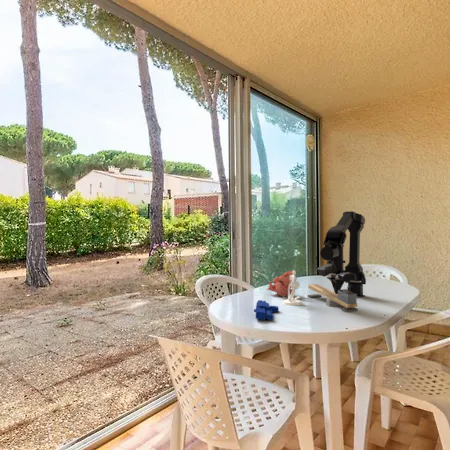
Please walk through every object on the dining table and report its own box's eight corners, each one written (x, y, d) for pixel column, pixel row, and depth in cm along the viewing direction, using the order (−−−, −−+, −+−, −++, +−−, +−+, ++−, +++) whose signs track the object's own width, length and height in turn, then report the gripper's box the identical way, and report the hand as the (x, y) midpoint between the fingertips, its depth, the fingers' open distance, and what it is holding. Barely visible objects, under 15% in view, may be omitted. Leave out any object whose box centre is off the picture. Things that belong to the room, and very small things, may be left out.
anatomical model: (294, 269, 165) (264, 269, 170) (294, 295, 161) (262, 294, 166) (297, 273, 174) (268, 273, 179) (296, 298, 170) (267, 297, 175)
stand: (319, 295, 168) (319, 291, 168) (359, 310, 139) (359, 304, 139) (306, 296, 166) (306, 292, 166) (344, 312, 137) (344, 306, 137)
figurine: (302, 305, 149) (302, 271, 148) (282, 305, 150) (281, 271, 150) (301, 301, 157) (301, 268, 157) (282, 300, 159) (282, 268, 159)
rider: (345, 298, 145) (346, 289, 145) (356, 303, 139) (356, 293, 138) (337, 299, 144) (338, 289, 144) (347, 304, 137) (348, 294, 137)
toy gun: (277, 300, 148) (254, 296, 148) (281, 313, 126) (255, 309, 127) (275, 309, 148) (252, 305, 148) (280, 324, 126) (253, 320, 127)
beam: (317, 287, 168) (317, 284, 167) (357, 307, 139) (357, 303, 139) (308, 287, 166) (308, 284, 166) (346, 308, 138) (347, 304, 137)
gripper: (308, 256, 155) (309, 291, 155) (333, 261, 137) (333, 300, 137) (329, 255, 158) (330, 289, 158) (356, 260, 140) (356, 297, 140)
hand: (336, 293), depth 148 cm, fingers closed
